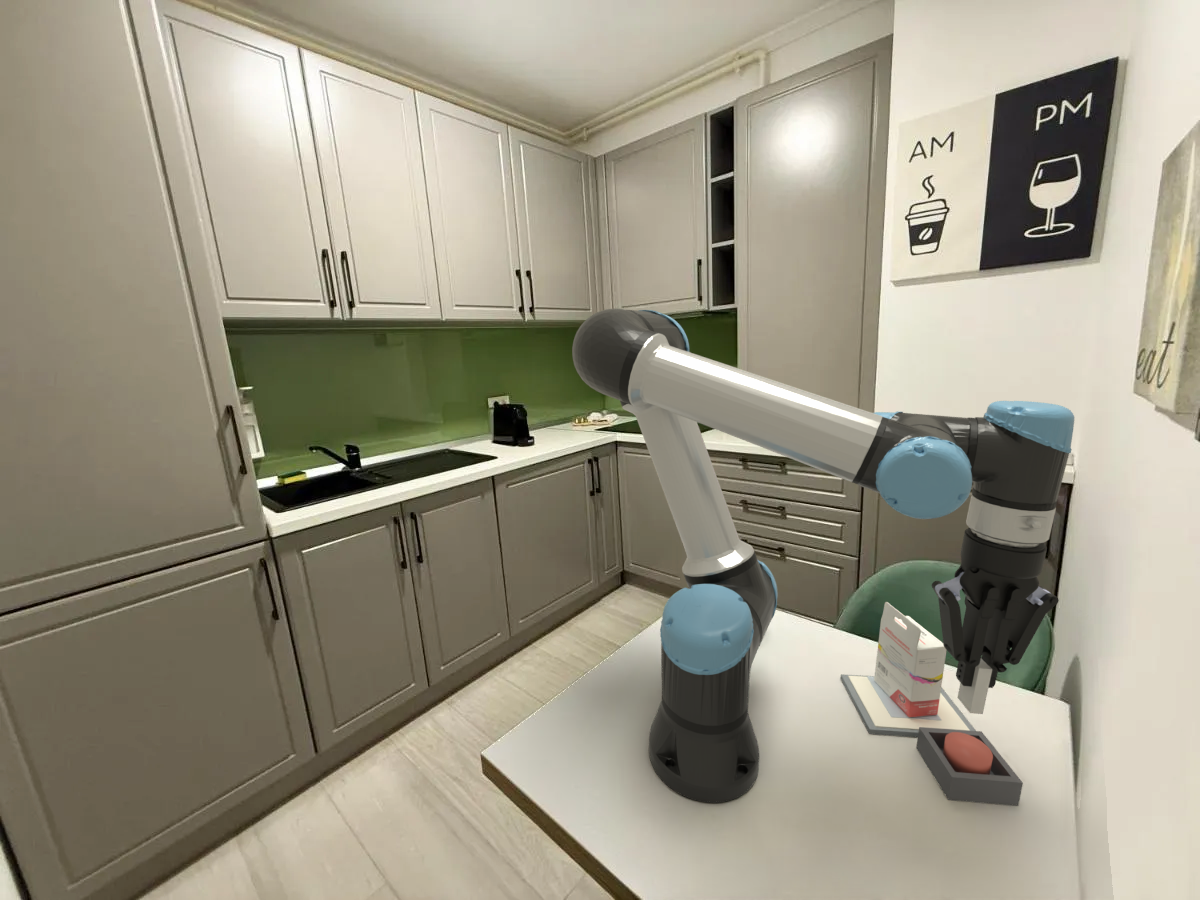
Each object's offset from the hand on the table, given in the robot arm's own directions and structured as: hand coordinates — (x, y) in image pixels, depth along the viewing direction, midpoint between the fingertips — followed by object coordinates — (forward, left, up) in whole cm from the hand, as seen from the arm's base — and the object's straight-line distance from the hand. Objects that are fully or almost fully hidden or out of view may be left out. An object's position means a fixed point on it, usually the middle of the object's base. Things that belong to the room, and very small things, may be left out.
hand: (969, 705), depth 62 cm
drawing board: (-1, +12, -11) cm, 16 cm away
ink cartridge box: (-1, +13, -10) cm, 16 cm away
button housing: (+1, 0, -11) cm, 11 cm away
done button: (+1, 0, -9) cm, 9 cm away
